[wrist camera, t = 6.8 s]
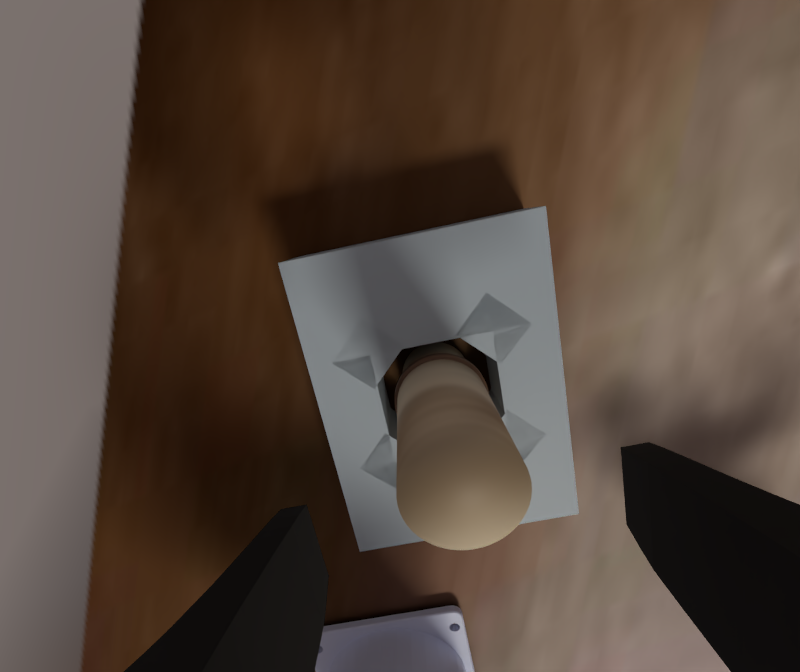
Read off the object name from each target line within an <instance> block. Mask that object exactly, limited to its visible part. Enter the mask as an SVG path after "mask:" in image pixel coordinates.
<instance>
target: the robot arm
mask: <svg viewBox="0 0 800 672" xmlns="http://www.w3.org/2000/svg"><path fill="white" fill-rule="evenodd" d="M621 456H622V469H623V483H624V496H625V509H626V522H627V526H628V528H629V529H630V531H631V533H632V534H633V536H634V538H635V540H636V541H637V543H638V545H639V547H640V548H641V550H642V552H643V553H644V555H645V556H646V558H647V560H648V561H649V563H650V565H651V566H652V568H653V569H654V571H655V572H656V573H657V575H658V576H659V578H660V579H661V580H662V582H663V583H664V584H665V586H666V587H667V588H668V590H669V591H670V592H671V594H672V595H673V596H674V598H675V599H676V600H677V602H678V603H679V604H680V606H681V607H682V608H683V609H684V611H685V612H686V613H687V615H688V616H689V617H690V619H691V620H692V621H693V623H694V624H695V625H696V626H697V628H698V629H699V630H700V632H701V633H702V634H703V636H704V637H705V638H706V640H707V641H708V642H709V643H710V645H711V646H712V647H713V649H714V650H715V651H716V653H717V654H718V655H719V657H720V658H721V659H722V661H723V662H724V663H725V664H726V666H727V667H728V668H729V670H730V671H731V672H800V505H799V504H796V503H794V502H791V501H789V500H786V499H784V498H781V497H779V496H776V495H774V494H771V493H769V492H766V491H764V490H762V489H759V488H757V487H754V486H752V485H749V484H747V483H745V482H742V481H740V480H738V479H735V478H733V477H731V476H728V475H726V474H724V473H721V472H719V471H717V470H714V469H712V468H710V467H707V466H705V465H703V464H700V463H698V462H696V461H693V460H691V459H689V458H686V457H684V456H682V455H679V454H677V453H675V452H672V451H670V450H667V449H665V448H662V447H660V446H657V445H655V444H652V443H649V442H648V443H643V444H637V445H632V446H626V447H621ZM328 577H329V575H328V572H327V569H326V566H325V562H324V559H323V556H322V553H321V549H320V546H319V543H318V540H317V537H316V533H315V530H314V527H313V524H312V521H311V517H310V514H309V511H308V508H307V505H302V506H296V507H291V508H285V509H281V510H280V511H279V512H278V513H277V514H276V515H275V516H274V517H273V518H272V519H271V520H270V521H269V522H268V524H267V525H266V526H265V527H264V528H263V529H262V530H261V531H260V532H259V534H258V535H257V536H256V537H255V538H254V539H253V540H252V541H251V543H250V544H249V545H248V546H247V547H246V548H245V549H244V551H243V552H242V553H241V554H240V555H239V556H238V557H237V558H236V559H235V560H234V562H233V563H232V564H231V565H230V566H229V567H228V568H227V569H226V570H225V572H224V573H223V574H222V575H221V576H220V577H219V578H218V579H217V580H216V581H215V583H214V584H213V585H212V586H211V587H210V588H209V589H208V590H207V591H206V592H205V593H204V594H203V595H202V596H201V597H200V598H199V599H198V600H197V601H196V602H195V603H194V604H193V605H192V606H191V607H190V608H189V609H188V610H187V611H186V612H185V614H184V615H183V616H182V617H181V618H180V619H179V620H178V621H177V622H176V623H175V624H174V625H173V626H172V627H171V628H170V629H169V630H168V631H167V632H166V633H165V634H164V635H163V636H162V637H161V638H160V639H159V640H158V641H156V642H155V643H154V644H153V645H152V646H151V647H150V648H149V649H148V650H147V651H146V652H145V653H144V654H143V655H142V656H141V657H139V658H138V659H137V660H136V661H135V662H134V663H133V664H132V665H131V666H129V667H128V668H127V669H126V670H125V671H124V672H314V671H316V672H475V671H474V666H473V661H472V656H471V652H470V647H469V642H468V638H467V633H466V628H465V624H464V619H463V614H462V611H461V609H460V608H459V607H457V606H454V605H450V606H444V607H438V608H432V609H425V610H419V611H413V612H407V613H401V614H395V615H389V616H383V617H377V618H371V619H365V620H358V621H352V622H346V623H340V624H334V625H328V626H324V620H325V611H326V601H327V589H328ZM453 623H456V624H453Z"/></svg>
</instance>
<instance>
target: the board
mask: <svg viewBox="0 0 800 672" xmlns="http://www.w3.org/2000/svg"><path fill="white" fill-rule="evenodd" d="M278 265H279V268H280V272H281V275H282V279H283V283H284V286H285V290H286V293H287V297H288V300H289V304H290V307H291V311H292V314H293V318H294V321H295V325H296V328H297V332H298V335H299V339H300V342H301V346H302V350H303V353H304V357H305V360H306V364H307V367H308V371H309V374H310V378H311V381H312V385H313V388H314V392H315V395H316V399H317V402H318V406H319V409H320V413H321V417H322V420H323V424H324V427H325V431H326V434H327V438H328V441H329V445H330V448H331V452H332V455H333V459H334V462H335V466H336V469H337V473H338V476H339V480H340V483H341V487H342V491H343V494H344V498H345V501H346V505H347V508H348V512H349V515H350V519H351V522H352V526H353V529H354V533H355V536H356V540H357V543H358V547H359V550H360V552H362V551H367V550H373V549H379V548H385V547H390V546H396V545H402V544H408V543H414V542H419V541H424V540H423V539H421V538H420V537H418V536H417V535H416V534H415V533H414V532H412V530H411V529H410V528H409V527H408V526H407V525H406V523H405V522H404V520H403V518H402V516H401V514H400V512H399V509H398V505H397V499H396V477H397V414H396V411H395V410H393V409H391V408H390V403H389V399H388V395H387V391H386V386H385V382H384V378H383V376H384V374H385V373H386V371H387V370H388V368H389V367H390V366H391V364H392V363H393V361H394V360H395V358H396V357H397V355H398V354H399V352H400V351H401V350H402V349H405V348H410V347H415V346H420V345H425V344H430V343H435V342H440V341H446V340H451V339H456V338H461V339H463V340H464V341H466V342H467V343H469V344H471V345H472V346H474V347H475V348H477V349H478V350H480V351H481V352H483V353H484V354H486V360H487V366H488V373H489V379H490V385H491V389H490V391H489V395H490V397H491V399H492V401H493V403H494V405H495V407H496V409H497V411H498V413H499V415H500V417H501V418H502V420H503V422H504V424H505V426H506V428H507V430H508V432H509V434H510V436H511V438H512V440H513V441H514V443H515V445H516V447H517V449H518V451H519V453H520V455H521V457H522V459H523V461H524V463H525V464H526V466H527V468H528V471H529V474H530V477H531V482H532V496H531V501H530V505H529V508H528V510H527V512H526V514H525V516H524V518H523V519H522V521H521V522H520V523H519V524H523V523H529V522H535V521H541V520H546V519H552V518H558V517H564V516H570V515H575V514H579V510H578V501H577V491H576V482H575V473H574V463H573V454H572V445H571V436H570V426H569V417H568V408H567V398H566V389H565V380H564V370H563V361H562V352H561V343H560V333H559V324H558V315H557V305H556V296H555V287H554V277H553V268H552V259H551V250H550V240H549V231H548V222H547V212H546V206H542V207H533V208H525V209H520V210H515V211H510V212H506V213H501V214H496V215H492V216H487V217H482V218H478V219H473V220H468V221H464V222H459V223H454V224H449V225H445V226H440V227H435V228H431V229H426V230H421V231H417V232H412V233H407V234H403V235H398V236H393V237H389V238H384V239H379V240H375V241H370V242H365V243H361V244H356V245H351V246H347V247H342V248H337V249H332V250H328V251H323V252H318V253H314V254H309V255H304V256H300V257H295V258H292V259H289V260H286V261H283V262H280V263H278Z"/></svg>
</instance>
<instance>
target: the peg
mask: <svg viewBox="0 0 800 672" xmlns="http://www.w3.org/2000/svg"><path fill="white" fill-rule="evenodd" d="M395 410H396V414H397V477H396V499H397V505H398V509H399V512H400V514H401V516H402V518H403V520H404V522H405V523H406V525H407V526H408V527H409V528H410V529H411V530H412V532H414V533H415V534H416V535H417V536H418V537H420V538H421V539H423V540H424V541H426V542H428V543H430V544H432V545H435V546H438V547H441V548H446V549H452V550H471V549H477V548H482V547H485V546H488V545H491V544H493V543H495V542H497V541H499V540H501V539H502V538H504V537H505V536H507V535H508V534H509V533H511V532H512V531H513V530H514V529H515V528H516V527H517V526H518V525H519V523H520V522H521V521H522V519H523V518H524V516H525V514H526V512H527V510H528V508H529V505H530V501H531V496H532V482H531V477H530V474H529V471H528V468H527V466H526V464H525V463H524V461H523V459H522V457H521V455H520V453H519V451H518V449H517V447H516V445H515V443H514V441H513V440H512V438H511V436H510V434H509V432H508V430H507V428H506V426H505V424H504V422H503V420H502V418H501V417H500V415H499V413H498V411H497V409H496V407H495V405H494V403H493V401H492V399H491V397H490V395H489V391H488V387H487V384H486V382H485V380H484V378H483V376H482V374H481V373H480V371H479V370H478V369H477V368H476V367H475V366H474V365H473V364H472V363H471V362H469V361H468V360H466V359H465V358H464V356H463V355H462V354H461V353H460V352H459V351H458V350H457V349H456V348H455V347H453V346H451V345H448V344H445V343H440V342H435V343H430V344H425V345H421V346H419V347H418V348H416V349H415V350H413V351H412V352H411V353H410V355H409V356H408V357H407V359H406V361H405V363H404V366H403V371H402V374H401V376H400V378H399V380H398V382H397V385H396V389H395Z"/></svg>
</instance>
